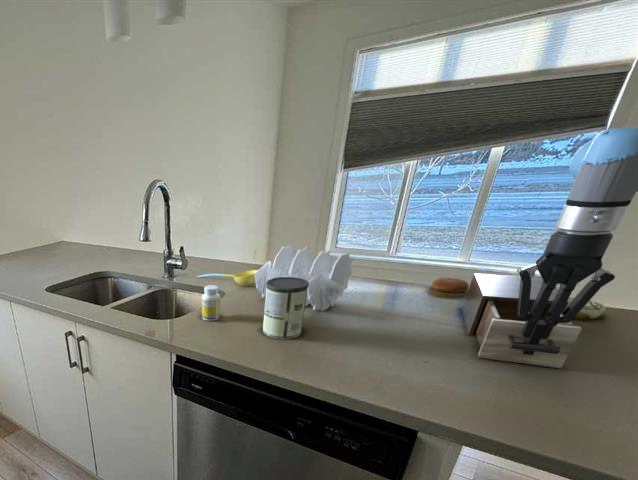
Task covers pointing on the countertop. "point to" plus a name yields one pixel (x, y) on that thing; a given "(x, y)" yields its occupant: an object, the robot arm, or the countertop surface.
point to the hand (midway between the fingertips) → (526, 351)
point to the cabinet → (495, 294)
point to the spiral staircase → (309, 274)
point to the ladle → (239, 277)
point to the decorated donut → (589, 310)
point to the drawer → (521, 336)
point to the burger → (449, 287)
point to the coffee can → (284, 307)
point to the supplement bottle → (211, 303)
